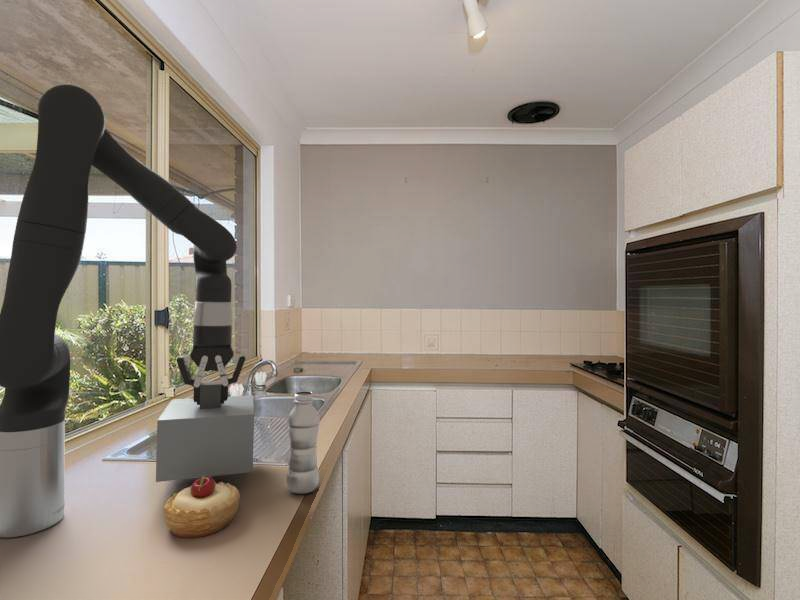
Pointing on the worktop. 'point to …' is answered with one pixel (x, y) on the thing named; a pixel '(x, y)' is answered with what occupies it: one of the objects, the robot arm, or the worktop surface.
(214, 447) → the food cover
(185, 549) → the worktop surface
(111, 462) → the worktop surface
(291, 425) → the plastic bottle
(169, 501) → the pastry
